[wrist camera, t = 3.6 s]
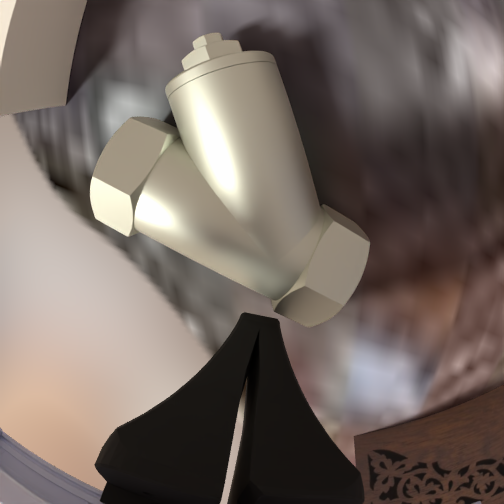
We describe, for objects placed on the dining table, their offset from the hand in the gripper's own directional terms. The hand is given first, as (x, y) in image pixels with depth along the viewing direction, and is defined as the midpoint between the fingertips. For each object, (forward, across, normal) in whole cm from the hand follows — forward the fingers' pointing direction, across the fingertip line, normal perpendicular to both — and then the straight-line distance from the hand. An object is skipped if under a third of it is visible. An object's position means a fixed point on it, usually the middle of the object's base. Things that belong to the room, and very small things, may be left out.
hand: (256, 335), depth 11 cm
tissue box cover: (+2, -24, +10) cm, 26 cm away
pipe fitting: (+2, +1, -6) cm, 6 cm away
